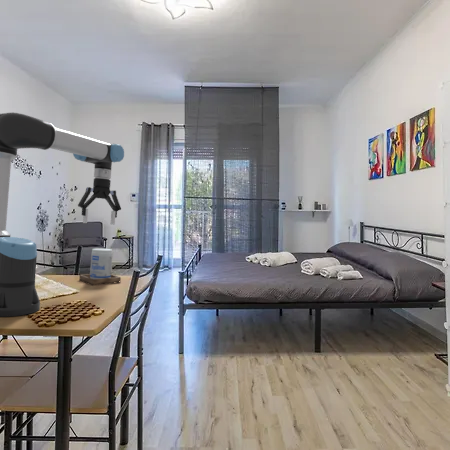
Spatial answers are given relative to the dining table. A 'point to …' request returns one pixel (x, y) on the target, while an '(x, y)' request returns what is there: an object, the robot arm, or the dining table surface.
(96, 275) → the supplement tub
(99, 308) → the dining table surface
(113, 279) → the well tray
